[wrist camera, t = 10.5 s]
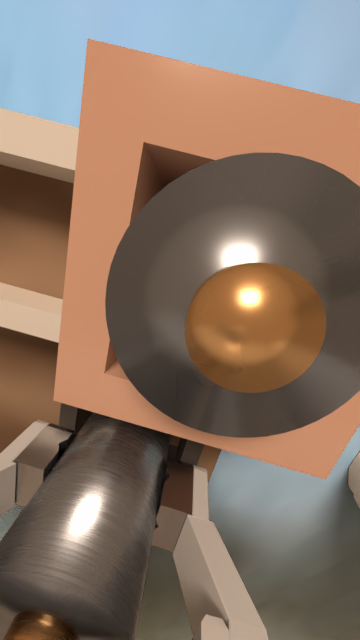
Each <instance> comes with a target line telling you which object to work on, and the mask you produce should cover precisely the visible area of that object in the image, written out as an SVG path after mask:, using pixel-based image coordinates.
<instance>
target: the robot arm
mask: <svg viewBox="0 0 360 640" xmlns="http://www.w3.org/2000/svg"><path fill="white" fill-rule="evenodd" d="M76 435H77V432H76V431H74V430H71V429H68V428H64V427H61V426H58V425H55V424H52V423H49V422H46V421H42V420H37V421H35V422H33V423H32V424H31V425H30V426H29V427H28V428H27V429H26V430H25V431H24V432H23V433H22V434H20V435H19V436H18V437H17V438H16V439H15V440H14V441H13V442H12V443H11V444H10V445H9V446H8V447H7V448H5V449H4V450H3V451H2V452H1V453H0V516H1V515H2V514H4V513H5V512H7V511H8V510H9V509H11V508H12V507H14V505H15V504H17V505H21V506H25V507H26V505H27V504H28V502H29V501H30V500H31V498H32V497H33V495H34V494H35V493H36V491H37V490H38V488H39V487H40V486H41V484H42V483H43V481H44V480H45V478H46V477H47V476H48V474H49V473H50V471H51V470H52V469H53V467H54V466H55V464H56V463H57V462H58V460H59V459H60V457H61V456H62V455H63V453H64V452H65V450H66V449H67V448H68V446H69V445H70V443H71V442H72V441H73V439H74V438H75V436H76ZM152 545H153V546H156V547H159V548H162V549H165V550H168V551H171V552H173V558H174V562H175V566H176V570H177V574H178V577H179V581H180V585H181V589H182V593H183V597H184V601H185V605H186V609H187V613H188V617H189V621H190V625H191V628H192V632H193V638H192V640H268V635H267V631H266V629H265V627H264V625H263V623H262V620H261V618H260V616H259V614H258V612H257V610H256V608H255V606H254V604H253V602H252V600H251V598H250V596H249V594H248V592H247V590H246V588H245V586H244V584H243V582H242V580H241V578H240V575H239V573H238V571H237V569H236V567H235V565H234V563H233V561H232V559H231V557H230V555H229V553H228V551H227V549H226V547H225V545H224V543H223V541H222V539H221V537H220V535H219V533H218V530H217V528H216V526H215V524H214V522H211V521H209V504H208V476H207V470H206V469H205V468H202V467H198V466H195V465H193V464H189V463H185V462H182V461H178V460H174V459H171V458H168V459H167V461H166V465H165V471H164V476H163V483H162V489H161V494H160V499H159V504H158V510H157V516H156V523H155V529H154V534H153V540H152Z"/></svg>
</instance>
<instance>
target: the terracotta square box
mask: <svg viewBox="0 0 360 640" xmlns="http://www.w3.org/2000/svg"><path fill="white" fill-rule="evenodd" d="M255 152H257V153H283V154H289V155H295V156H301V157H304V158H307V159H310V160H313V161H316V162H319V163H322V164H325V165H326V166H328V167H330V168H332V169H334V170H336V171H338V172H340V173H342V174H344V175H345V176H346V177H348V178H349V179H350V180H352V181H353V182H354V183H356V184H357V185H358V186H360V104H358V103H354V102H350V101H345V100H341V99H337V98H333V97H329V96H325V95H320V94H316V93H312V92H308V91H304V90H300V89H295V88H291V87H287V86H283V85H279V84H275V83H270V82H266V81H262V80H258V79H254V78H250V77H245V76H241V75H237V74H233V73H229V72H225V71H220V70H216V69H212V68H208V67H204V66H200V65H195V64H191V63H187V62H183V61H179V60H175V59H171V58H166V57H162V56H158V55H154V54H150V53H146V52H141V51H137V50H133V49H129V48H125V47H121V46H116V45H112V44H108V43H104V42H100V41H96V40H91V39H88V41H87V52H86V62H85V73H84V83H83V94H82V104H81V115H80V125H79V136H78V146H77V157H76V167H75V178H74V188H73V199H72V209H71V220H70V230H69V241H68V251H67V262H66V272H65V283H64V293H63V304H62V314H61V325H60V335H59V346H58V356H57V367H56V377H55V388H54V398H53V401H57V402H60V403H64V404H67V405H70V406H74V407H77V408H81V409H84V410H88V411H91V412H95V413H98V414H102V415H105V416H108V417H112V418H115V419H119V420H122V421H126V422H129V423H133V424H136V425H140V426H143V427H147V428H150V429H153V430H157V431H160V432H164V433H167V434H171V435H174V436H178V437H181V438H185V439H188V440H191V441H195V442H198V443H202V444H205V445H209V446H212V447H216V448H219V449H223V450H226V451H229V452H233V453H236V454H240V455H243V456H247V457H250V458H254V459H257V460H261V461H264V462H267V463H271V464H274V465H278V466H281V467H285V468H288V469H292V470H295V471H299V472H302V473H305V474H309V475H312V476H316V477H319V478H323V479H326V478H327V477H328V475H329V474H330V472H331V470H332V469H333V467H334V465H335V464H336V462H337V461H338V459H339V457H340V456H341V454H342V452H343V451H344V449H345V448H346V446H347V444H348V443H349V441H350V439H351V438H352V436H353V435H354V433H355V431H356V430H357V428H358V426H359V425H360V391H359V392H358V393H356V394H355V395H354V396H353V397H352V398H351V399H350V400H349V401H348V402H346V403H345V404H343V405H342V406H341V407H339V408H338V409H336V410H335V411H334V412H332V413H330V414H329V415H327V416H325V417H323V418H322V419H320V420H318V421H316V422H314V423H311V424H309V425H307V426H304V427H302V428H299V429H296V430H292V431H289V432H286V433H282V434H277V435H272V436H265V437H254V438H237V437H227V436H219V435H214V434H210V433H206V432H202V431H199V430H196V429H193V428H191V427H188V426H186V425H184V424H182V423H179V422H177V421H175V420H173V419H172V418H170V417H169V416H167V415H165V414H164V413H162V412H161V411H159V410H158V409H157V408H156V407H154V406H153V405H152V404H151V403H149V402H148V401H147V400H146V399H145V398H144V397H143V396H142V395H141V394H140V393H139V392H138V391H137V389H136V388H135V387H134V386H133V384H132V383H131V382H130V380H129V379H128V378H127V376H126V374H125V373H124V371H123V369H122V368H121V366H120V364H119V362H118V360H117V357H116V355H115V353H114V351H113V347H112V344H111V341H110V338H109V334H108V328H107V322H106V309H105V297H106V286H107V280H108V275H109V271H110V266H111V263H112V260H113V258H114V255H115V252H116V249H117V247H118V245H119V243H120V241H121V239H122V237H123V235H124V233H125V231H126V230H127V228H128V227H129V225H130V224H131V222H132V221H133V220H134V218H135V217H136V215H137V214H138V213H139V211H140V210H141V209H142V208H143V207H144V206H145V205H146V204H147V203H148V202H149V201H150V200H151V198H152V197H154V196H155V195H156V194H157V193H158V192H160V191H161V190H162V189H163V188H164V187H166V186H167V185H168V184H169V183H171V182H172V181H174V180H175V179H177V178H179V177H180V176H182V175H184V174H185V173H187V172H188V171H191V170H193V169H195V168H197V167H199V166H202V165H204V164H206V163H208V162H211V161H215V160H218V159H222V158H225V157H229V156H233V155H240V154H248V153H255Z"/></svg>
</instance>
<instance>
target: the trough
mask: <svg viewBox="0 0 360 640" xmlns="http://www.w3.org/2000/svg"><path fill="white" fill-rule="evenodd" d="M78 136H79V128H78V127H74V126H70V125H66V124H62V123H58V122H54V121H50V120H46V119H42V118H38V117H34V116H30V115H26V114H22V113H18V112H14V111H10V110H6V109H2V108H0V164H1V165H4V166H8V167H12V168H16V169H20V170H24V171H27V172H31V173H35V174H39V175H43V176H47V177H51V178H54V179H58V180H62V181H66V182H70V183H74V178H75V167H76V157H77V146H78ZM62 304H63V299H59V298H55V297H52V296H48V295H44V294H41V293H37V292H34V291H30V290H26V289H23V288H19V287H15V286H12V285H8V284H5V283H1V282H0V326H1V327H4V328H8V329H12V330H15V331H19V332H22V333H26V334H29V335H33V336H36V337H40V338H44V339H47V340H51V341H54V342H58V343H59V335H60V325H61V314H62Z"/></svg>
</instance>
